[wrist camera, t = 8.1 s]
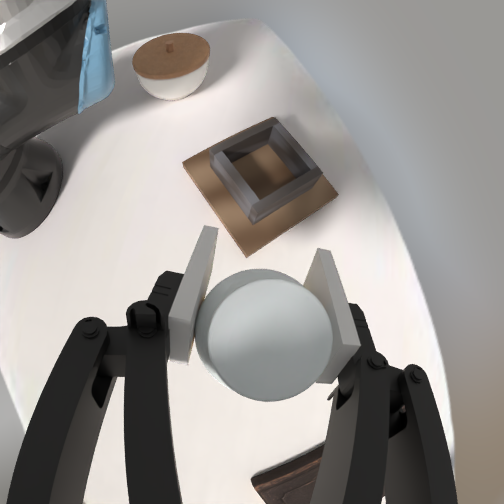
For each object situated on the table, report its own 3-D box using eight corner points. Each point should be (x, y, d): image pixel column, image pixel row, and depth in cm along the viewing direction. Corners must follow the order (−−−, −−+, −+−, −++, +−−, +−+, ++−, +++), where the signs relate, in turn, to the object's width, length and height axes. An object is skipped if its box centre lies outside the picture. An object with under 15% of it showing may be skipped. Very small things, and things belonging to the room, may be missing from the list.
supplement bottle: (246, 266, 18) (274, 219, 9) (303, 323, 18) (381, 332, 9) (186, 323, 17) (149, 337, 8) (245, 381, 17) (272, 448, 7)
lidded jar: (130, 89, 35) (117, 47, 26) (184, 60, 38) (181, 18, 28) (165, 123, 34) (154, 76, 25) (223, 88, 37) (226, 42, 28)
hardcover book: (419, 459, 28) (427, 463, 26) (294, 532, 24) (298, 541, 22) (399, 391, 30) (409, 395, 28) (249, 476, 26) (251, 485, 24)
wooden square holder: (183, 166, 33) (178, 144, 28) (271, 121, 36) (278, 97, 31) (246, 257, 32) (251, 247, 26) (335, 198, 34) (351, 181, 29)
